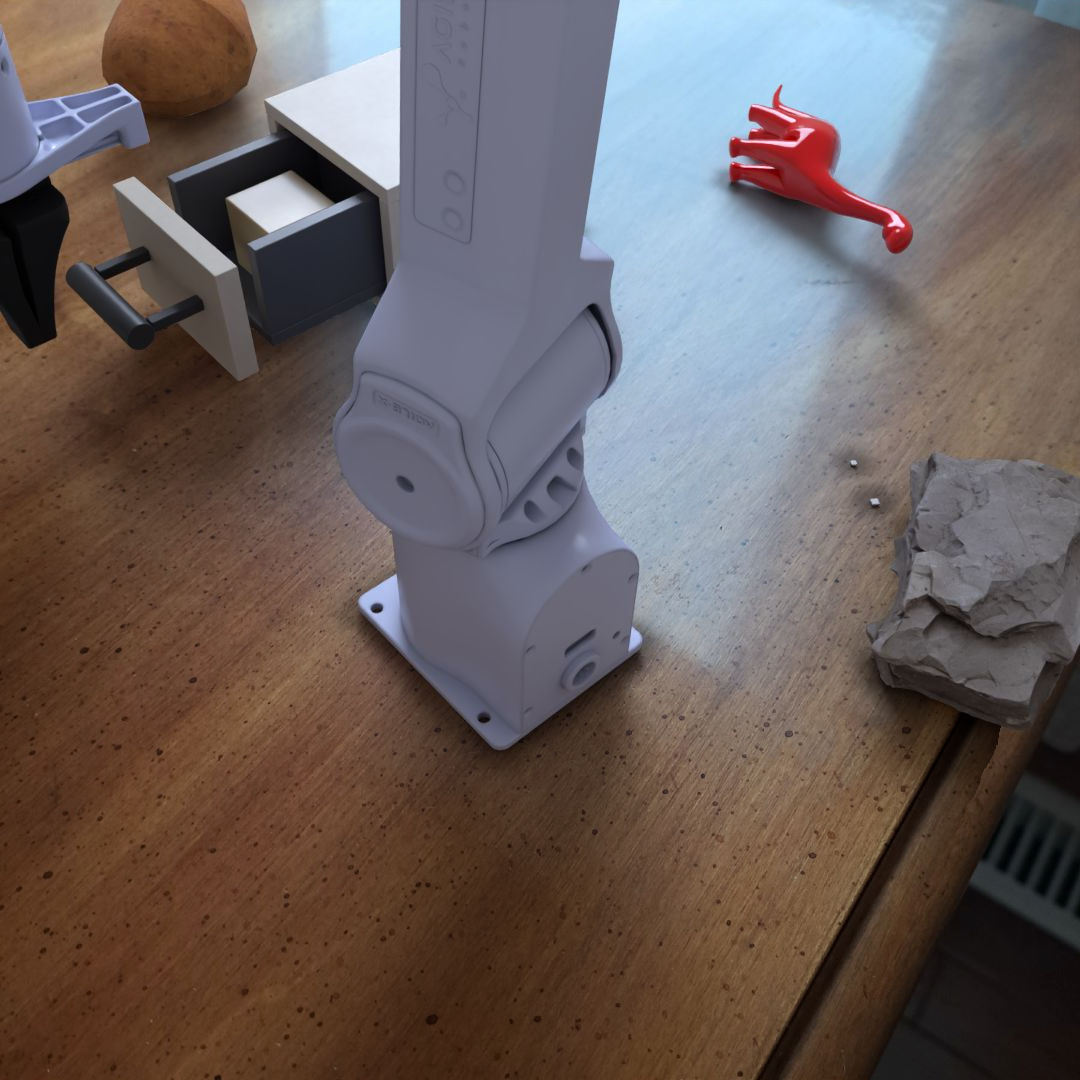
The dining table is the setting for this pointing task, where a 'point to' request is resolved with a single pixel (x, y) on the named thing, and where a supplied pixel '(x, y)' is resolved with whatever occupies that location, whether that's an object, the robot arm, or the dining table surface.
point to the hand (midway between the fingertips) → (33, 332)
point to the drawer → (211, 261)
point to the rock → (985, 587)
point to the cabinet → (353, 132)
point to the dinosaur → (807, 167)
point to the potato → (179, 53)
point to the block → (271, 209)
